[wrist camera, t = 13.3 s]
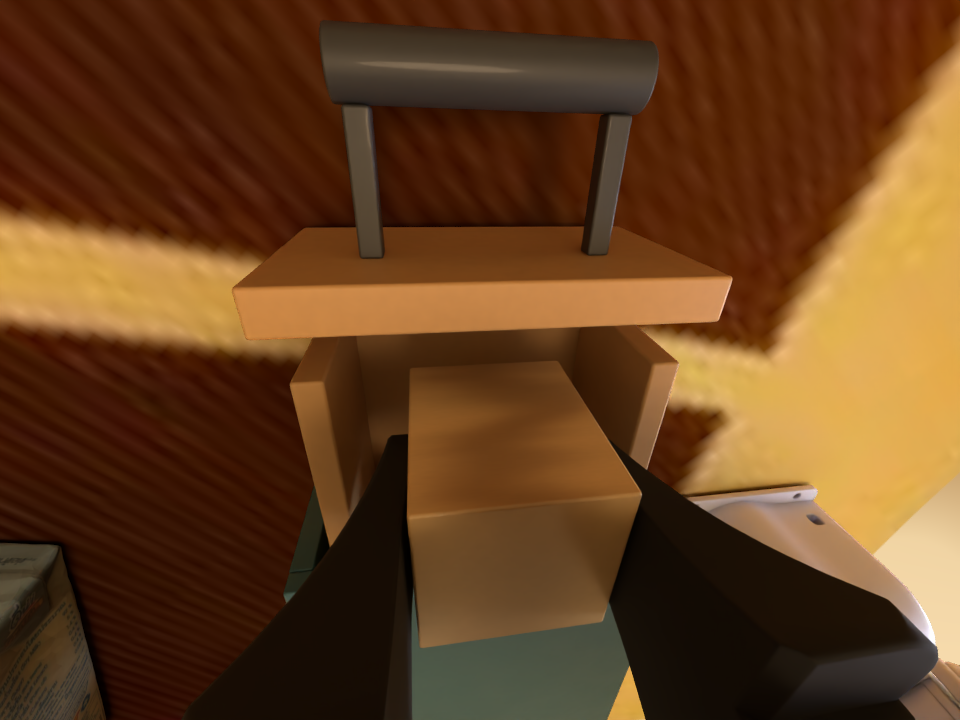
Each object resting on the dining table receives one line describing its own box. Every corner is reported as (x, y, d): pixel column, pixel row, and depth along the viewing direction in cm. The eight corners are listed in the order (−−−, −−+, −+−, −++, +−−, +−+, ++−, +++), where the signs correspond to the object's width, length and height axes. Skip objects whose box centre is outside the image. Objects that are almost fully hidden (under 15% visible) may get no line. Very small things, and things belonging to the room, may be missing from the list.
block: (557, 359, 12) (644, 493, 7) (543, 468, 14) (603, 623, 10) (409, 367, 11) (406, 517, 7) (417, 479, 14) (419, 650, 9)
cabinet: (331, 423, 18) (282, 595, 11) (589, 406, 20) (679, 546, 13) (367, 604, 25) (349, 777, 18) (555, 580, 27) (603, 730, 20)
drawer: (270, 51, 11) (134, -30, 6) (648, 70, 13) (823, 22, 7) (355, 506, 20) (333, 642, 14) (571, 485, 21) (623, 602, 16)
